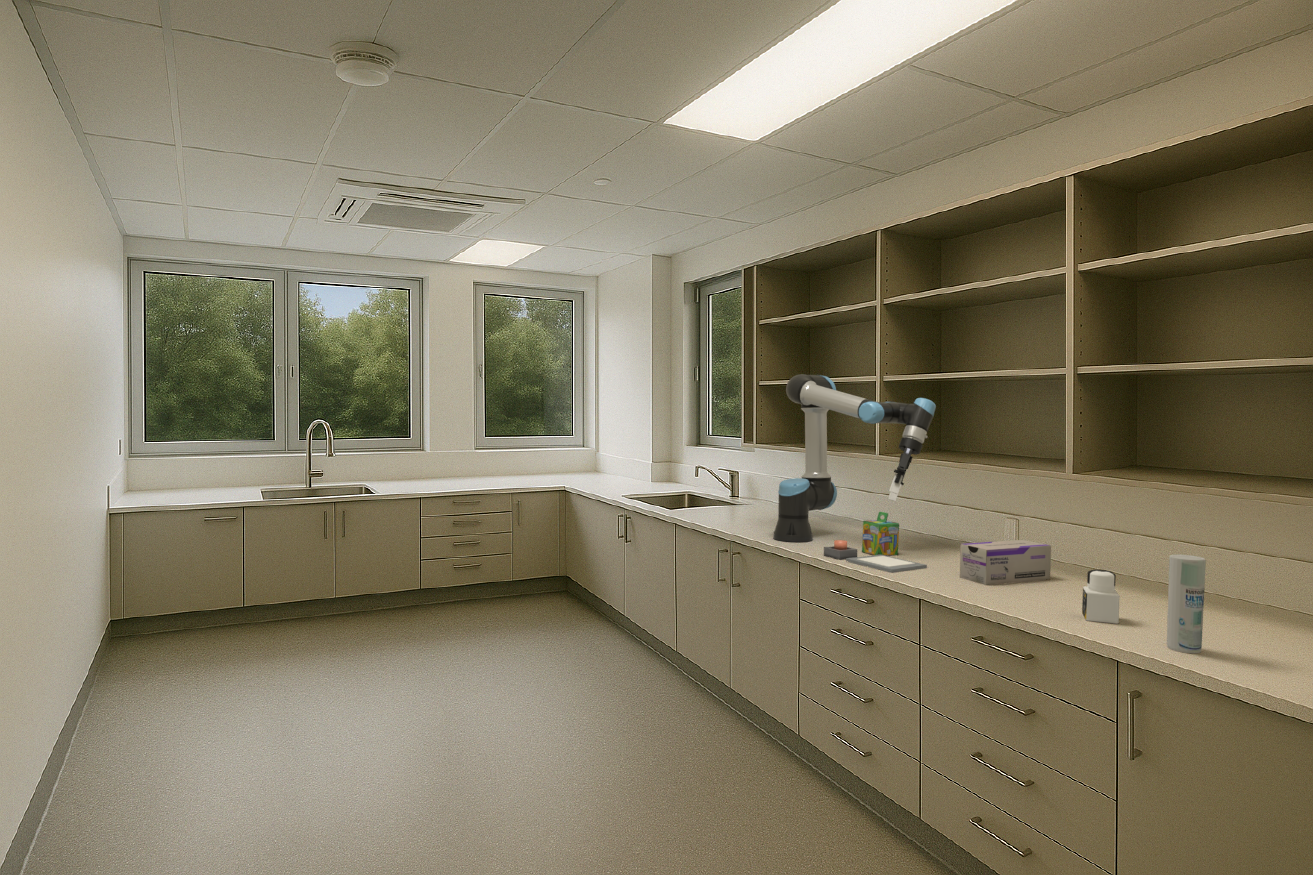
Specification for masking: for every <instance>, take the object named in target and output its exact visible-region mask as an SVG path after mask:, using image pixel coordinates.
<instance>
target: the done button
mask: <svg viewBox="0 0 1313 875" xmlns="http://www.w3.org/2000/svg"><path fill="white" fill-rule="evenodd" d="M833 543H834V545H833V546H834V549H837V550H847V547H848V541H847V540H845V539H836V540H834V541H833Z"/></svg>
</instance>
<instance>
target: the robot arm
mask: <svg viewBox="0 0 1313 875" xmlns="http://www.w3.org/2000/svg"><path fill="white" fill-rule="evenodd" d="M785 392H786V395H787V397H788V399H789V400H790V401H791V402H793V403H795V404H798V405H799V404H800V410H802V411H803V412H804V440H805V441H804V444H805V445H804V448H805V452H804V454H805V462H804V464H805V468H804V469H805V472H804V473H803V475H801V478H799V477H797V478H796V477H795V478H788V479H787V478H786V479H783V480H782V481H780V483H779V485H778V491H777V493H778V516H777V517H778V518H777V522H776V525H775V528H774V531H773V539H774V540H776V541H780V542H781V541H782V542H788V543H789V542H790V543H805V542H812V541H813V540H814V539H813V532H812V527H811V524H810V521H809V515H810V514H809V512H810V511H822V510H826V509H829V508H830V507H832V506H833V505H834V504H835V503H836V500H837V497H838V489H837V486H836V485H835V484H834V482H833V481H832V475H830V473H828V436H827V434H828V430H827V429H828V427H827V426H828V425H827V424H828V418H827V416H828V411H829V410H830V411H833V412H836V413H840V414H843V415H847V416H850V417H853V418H857V419H860V420H861V421H862V422H864V423H866V424H871V425H875V424H899V425H906V426H905V427H904V430H903V432H902V435H901V436H902V438H900V441H899V444H898V449H899V450H900V451H902V452H901V453H900V456H899V460H898V461H899V463H898V465H897V467H896V469H894V470H893V472H894V476H893V479H892V481H891V484H890V487H889V490H888V492H889V495H888V498H887V500H890V501H892V502H896V501H897V499H898V495H899V493H900V490H901V487H902V486H904V484H905V482H903V481H904V478H905V474H906V472H907V470H908V469H909V467H910V465H911V463H912V460H913V456H912V455H916V456H918V455H919V454H920V453H921V450H922V448H923V444H924V443H925V439H928V435H927V433H928V431H929V428H930V425H931V423H932V420H933V418H934V416H935V411H936V408H937V406H936V404H935V402H933V400H930V399H928V398H925V397H918V398H916V399H915V400H914V401H913V403H905V402H904V403H903V402H895V401H883V402H881V401H876V400H872V399H868V398H864V397H861V396H857V395H854V394H850V393H846V392H842V391H839V390H837V387H836V384H835V382H834V381H833V380H832V379H831V378H830V377H828V376H826V375H821V374H805V373H804V374H802V373H801V374H796V375H794V376H792V377H791V378H790V379H789V380H788V382H787V384H786V386H785Z"/></svg>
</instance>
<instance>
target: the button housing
mask: <svg viewBox="0 0 1313 875" xmlns="http://www.w3.org/2000/svg"><path fill="white" fill-rule="evenodd" d="M823 556H824V557H827V558H830V559H831V558H832V559H835V560H840V561H841V560H846V558H854V557H858V548H854V547H850V546H847V550H837V549H834V545H833V546H831V545H830V546H824V547H823Z"/></svg>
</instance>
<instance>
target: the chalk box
mask: <svg viewBox="0 0 1313 875" xmlns="http://www.w3.org/2000/svg"><path fill="white" fill-rule="evenodd" d="M882 516H883V517H884V518H881V517H882ZM888 516H889V513H888V512H883V511H879V512H878V514H877V518H876V519H871V520H869V519H867V520H863V524H862V544H861V552H862V553H865V554H868V555H870V556H872V555H885V556H890V557H891V556H898V555H899V540H900V537H899V536H900V535H899V534H900V523H899V522H896V521H891V520H888Z"/></svg>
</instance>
